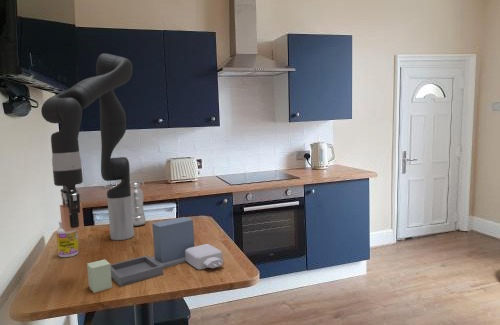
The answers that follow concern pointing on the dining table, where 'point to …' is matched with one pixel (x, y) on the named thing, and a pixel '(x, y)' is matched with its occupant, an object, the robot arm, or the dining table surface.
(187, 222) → the block
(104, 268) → the sage block
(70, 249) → the supplement bottle
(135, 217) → the plastic bottle
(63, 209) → the terracotta block
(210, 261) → the charger
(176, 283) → the dining table surface
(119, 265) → the tray
